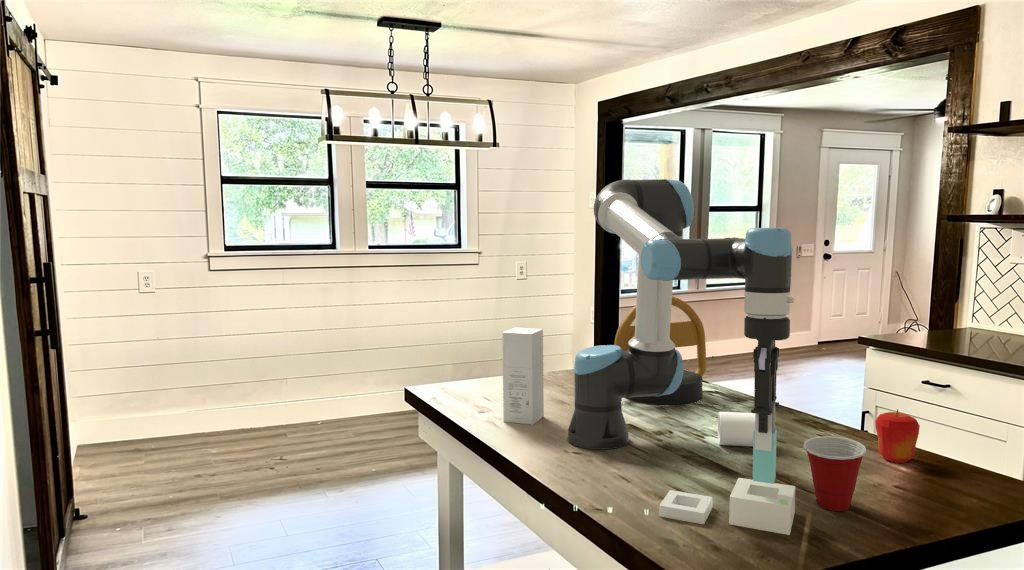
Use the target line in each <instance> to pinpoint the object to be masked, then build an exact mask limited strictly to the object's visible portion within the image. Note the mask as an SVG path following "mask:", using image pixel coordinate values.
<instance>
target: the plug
mask: <svg viewBox="0 0 1024 570" xmlns="http://www.w3.org/2000/svg"><path fill="white" fill-rule="evenodd" d="M776 402H777V400H776V401H771V410H772V413H771V414H772V450H771V451H765V450H757V449H755V429H754V431H753V447H752V480H753V481H757V482H764V483H771V484H774V483H775V481H776V474H777V435H778V434H777V430H778V429H777V428H776V407H775V403H776Z"/></svg>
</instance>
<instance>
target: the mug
mask: <svg viewBox="0 0 1024 570" xmlns="http://www.w3.org/2000/svg"><path fill="white" fill-rule="evenodd" d="M754 429H755V413H751V412H737V411H735V412H734V411H718V413H717V441H718V445H720V446H732V447H733V446H735V447H752V448H753V431H754Z"/></svg>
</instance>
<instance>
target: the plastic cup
mask: <svg viewBox="0 0 1024 570" xmlns="http://www.w3.org/2000/svg"><path fill="white" fill-rule="evenodd" d="M803 448H804V450H805V451H806V453H807V457H808V461H809V463H810V469H811V470H810V471H811V477H812V482H813V488H814V492H815V493H814V494H815V501H816V504H817V505H818V507H820V508H823V509H825V510H829V511H833V512H844V511H848V510H849V509H850V506H851V505H852V501H853V495H854V493H855V490H856V484H857V481H858V476H859V471H860V466H861V463H862V460H863V457H864V455H865V454H866V452H867V448H866V446H865V445H864V444H862V443H861V442H859V441H857V440H854V439H852V438H846V437H840V436H827V435H826V436H816V437H812V438H808V439H807V440H805V441H804V442H803Z"/></svg>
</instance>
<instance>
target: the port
mask: <svg viewBox="0 0 1024 570" xmlns="http://www.w3.org/2000/svg"><path fill="white" fill-rule="evenodd" d="M795 511H796V485H792V484H791V485H790V484H783V483H776V482H774V484H771V483H764V482H757V481H753V479H749V478H742V477H738V478H737V480H736V483H735V485H734V486H733V489H732V491H731V493H730V495H729V511H728V512H729V514H728V518H729V520H728V525H732V526H738V527H742V528H747V529H753V530H754V529H755V530H759V531H765V532H770V533H771V532H772V533H776V534H780V535H781V534H782V535H787V536H790V535H791V531H792V526H793V522H794V518H795V513H796V512H795Z"/></svg>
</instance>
